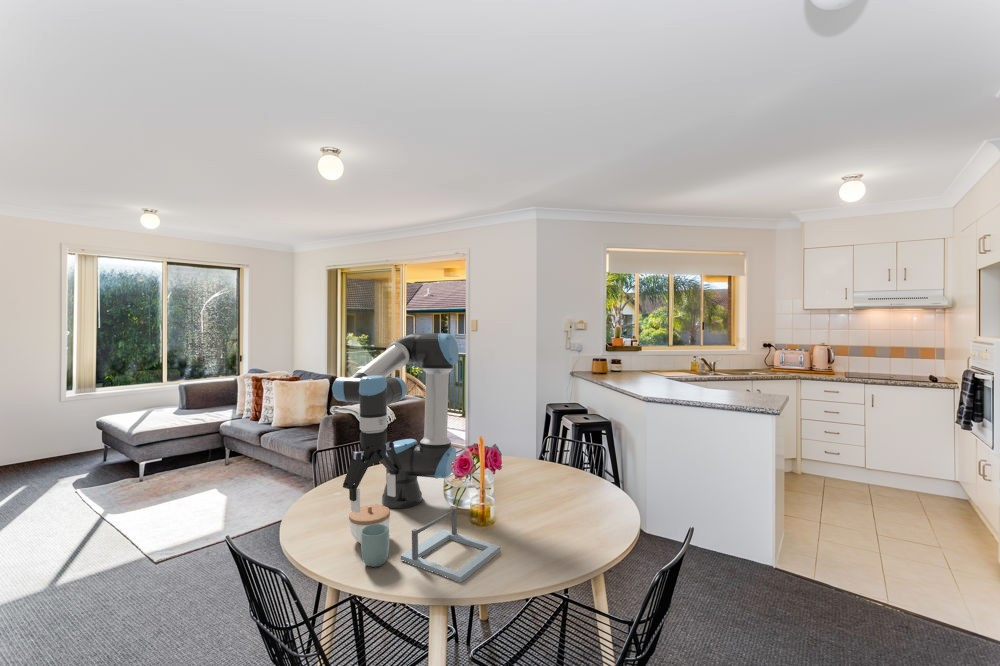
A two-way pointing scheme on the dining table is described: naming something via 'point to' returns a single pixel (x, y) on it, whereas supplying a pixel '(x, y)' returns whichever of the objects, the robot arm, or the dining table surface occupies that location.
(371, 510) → the lidded bowl
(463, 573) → the towel rail frame
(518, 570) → the dining table surface
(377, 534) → the cup
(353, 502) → the robot arm
